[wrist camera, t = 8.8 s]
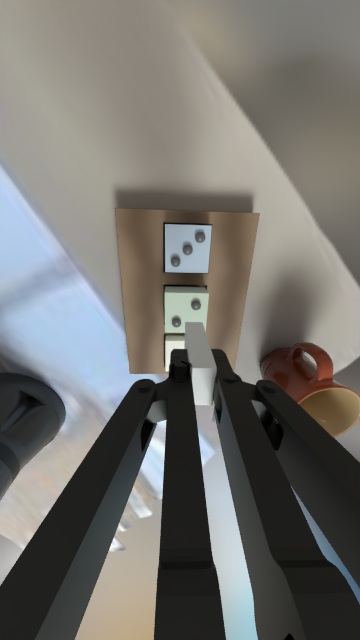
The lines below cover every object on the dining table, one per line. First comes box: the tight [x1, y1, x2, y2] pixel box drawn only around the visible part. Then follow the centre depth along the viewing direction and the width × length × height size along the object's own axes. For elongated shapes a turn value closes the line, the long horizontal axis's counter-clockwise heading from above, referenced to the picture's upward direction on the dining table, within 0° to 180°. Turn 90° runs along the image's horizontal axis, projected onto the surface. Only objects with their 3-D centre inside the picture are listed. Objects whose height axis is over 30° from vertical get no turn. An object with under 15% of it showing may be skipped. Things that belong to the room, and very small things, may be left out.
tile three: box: [165, 224, 212, 273], centre depth 23 cm, size 5×5×4 cm
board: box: [115, 208, 260, 374], centre depth 26 cm, size 16×22×2 cm
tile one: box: [165, 334, 185, 371], centre depth 28 cm, size 5×5×4 cm
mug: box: [261, 342, 360, 438], centre depth 26 cm, size 12×9×10 cm
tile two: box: [165, 286, 209, 333], centre depth 24 cm, size 5×5×4 cm
